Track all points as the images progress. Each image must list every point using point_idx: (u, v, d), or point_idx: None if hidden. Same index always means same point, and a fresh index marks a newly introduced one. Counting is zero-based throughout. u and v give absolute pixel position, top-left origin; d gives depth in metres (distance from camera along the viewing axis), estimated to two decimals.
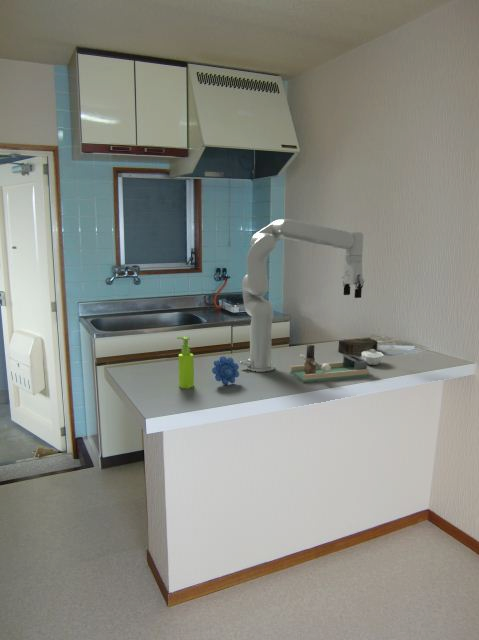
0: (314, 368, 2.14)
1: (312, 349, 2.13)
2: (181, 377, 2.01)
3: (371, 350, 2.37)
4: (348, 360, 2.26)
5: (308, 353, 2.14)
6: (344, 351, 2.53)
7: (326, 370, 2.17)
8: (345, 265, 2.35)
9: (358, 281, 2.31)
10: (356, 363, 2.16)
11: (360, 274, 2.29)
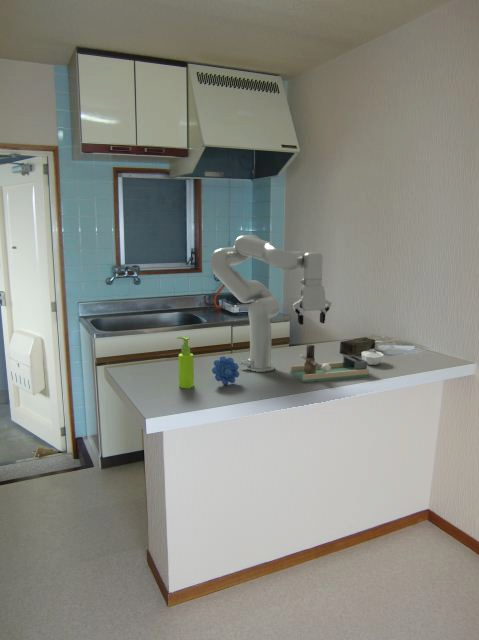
0: (314, 368, 2.14)
1: (312, 349, 2.13)
2: (181, 377, 2.01)
3: (371, 350, 2.37)
4: (348, 360, 2.26)
5: (308, 353, 2.14)
6: (347, 352, 2.51)
7: (326, 370, 2.17)
8: (309, 290, 2.07)
9: None
10: (356, 363, 2.16)
11: None
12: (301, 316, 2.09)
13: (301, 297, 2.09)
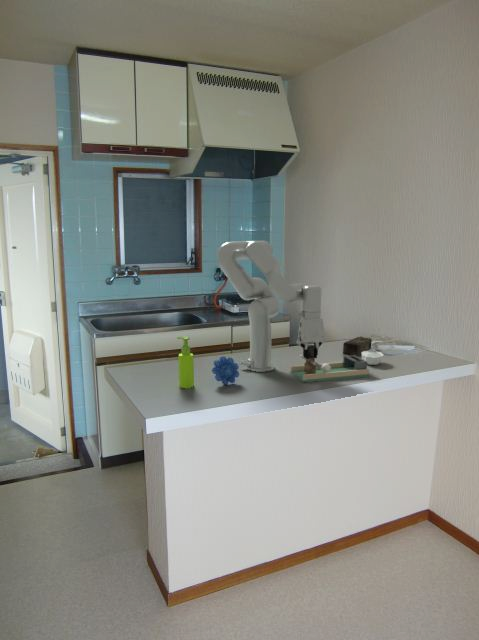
0: (314, 368, 2.14)
1: (312, 349, 2.13)
2: (181, 377, 2.01)
3: (371, 350, 2.37)
4: (348, 360, 2.26)
5: None
6: (352, 353, 2.50)
7: (326, 370, 2.17)
8: (307, 323, 2.09)
9: None
10: (356, 363, 2.16)
11: None
12: (306, 350, 2.13)
13: (300, 329, 2.11)
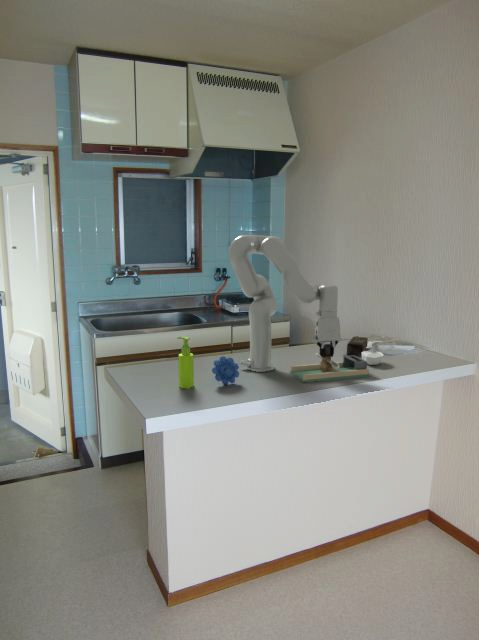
0: (330, 367, 2.16)
1: (328, 348, 2.15)
2: (181, 377, 2.01)
3: (371, 350, 2.37)
4: (348, 360, 2.26)
5: None
6: (357, 353, 2.49)
7: None
8: (324, 322, 2.11)
9: None
10: (356, 363, 2.16)
11: None
12: (323, 349, 2.15)
13: (317, 328, 2.13)
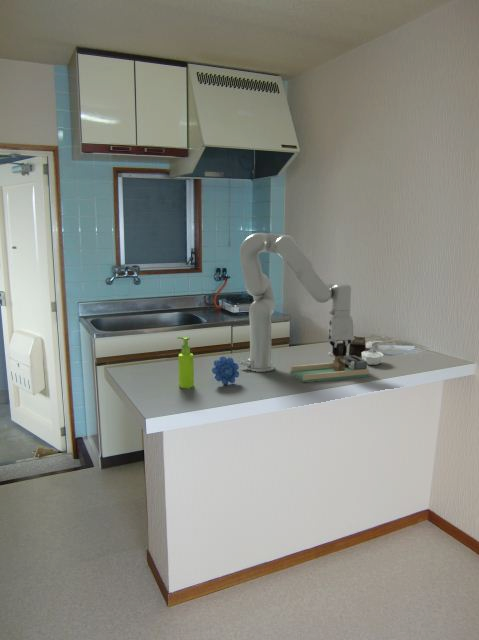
0: (343, 365, 2.18)
1: (341, 347, 2.17)
2: (181, 377, 2.01)
3: (371, 350, 2.37)
4: (348, 360, 2.26)
5: None
6: (360, 353, 2.49)
7: (353, 367, 2.20)
8: (337, 321, 2.13)
9: None
10: (356, 363, 2.16)
11: None
12: (336, 348, 2.17)
13: (330, 327, 2.15)
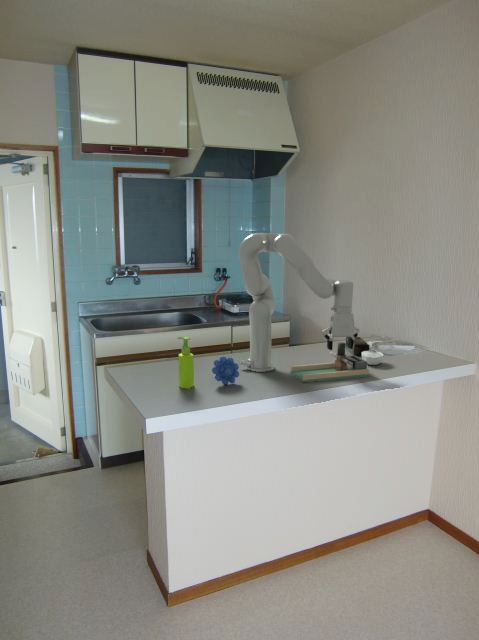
0: (345, 365, 2.18)
1: (343, 347, 2.17)
2: (181, 377, 2.01)
3: (371, 350, 2.37)
4: None
5: (339, 351, 2.18)
6: None
7: (350, 368, 2.20)
8: (339, 318, 2.13)
9: None
10: (356, 363, 2.16)
11: None
12: (330, 342, 2.16)
13: (331, 323, 2.15)
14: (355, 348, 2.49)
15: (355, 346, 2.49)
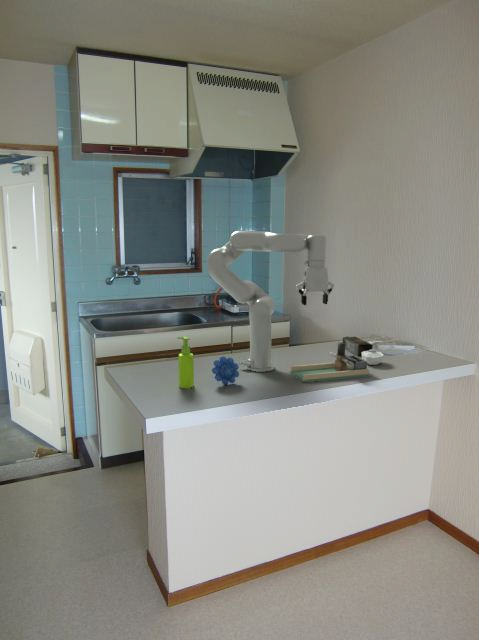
0: (345, 365, 2.18)
1: (343, 347, 2.17)
2: (181, 377, 2.01)
3: (371, 350, 2.37)
4: None
5: (339, 351, 2.18)
6: None
7: (351, 368, 2.20)
8: (312, 272, 2.12)
9: None
10: (356, 363, 2.16)
11: None
12: (304, 297, 2.15)
13: (304, 278, 2.14)
14: (359, 348, 2.49)
15: (359, 346, 2.48)
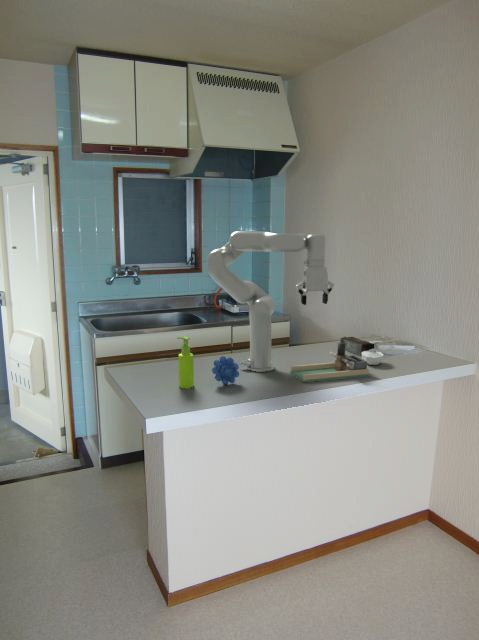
0: (345, 365, 2.18)
1: (343, 347, 2.17)
2: (181, 377, 2.01)
3: (371, 350, 2.37)
4: None
5: (339, 351, 2.18)
6: None
7: (352, 368, 2.20)
8: (312, 271, 2.12)
9: None
10: (356, 363, 2.16)
11: None
12: (304, 296, 2.15)
13: (304, 278, 2.14)
14: (362, 348, 2.48)
15: (362, 346, 2.48)
